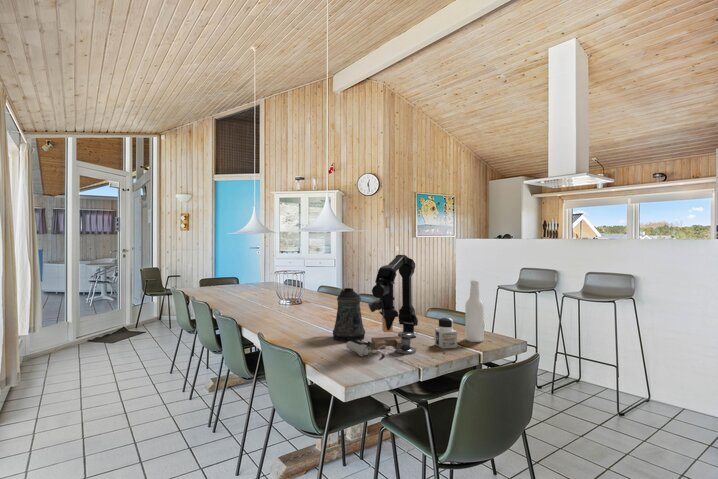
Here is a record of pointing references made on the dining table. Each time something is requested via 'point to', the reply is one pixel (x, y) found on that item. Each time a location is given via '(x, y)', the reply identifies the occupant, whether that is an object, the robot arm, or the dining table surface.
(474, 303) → the alcohol
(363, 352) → the clip-on lamp
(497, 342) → the dining table surface
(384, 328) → the block
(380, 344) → the notched board
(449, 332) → the container
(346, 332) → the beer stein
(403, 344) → the bobbin
